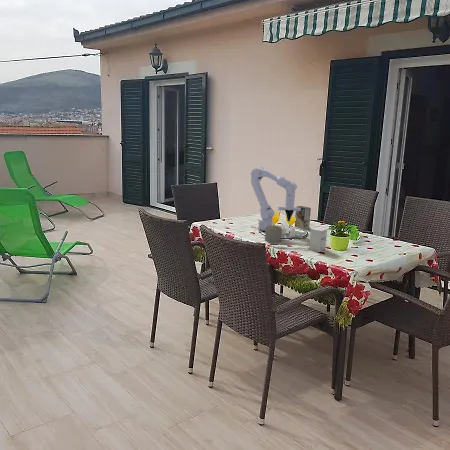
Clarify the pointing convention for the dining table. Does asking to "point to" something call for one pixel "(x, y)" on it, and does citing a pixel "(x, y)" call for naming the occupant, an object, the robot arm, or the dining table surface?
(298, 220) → the coffee box
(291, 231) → the slider front
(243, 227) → the dining table surface
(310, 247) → the supplement box
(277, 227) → the coffee mug
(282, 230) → the slider middle
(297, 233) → the console
